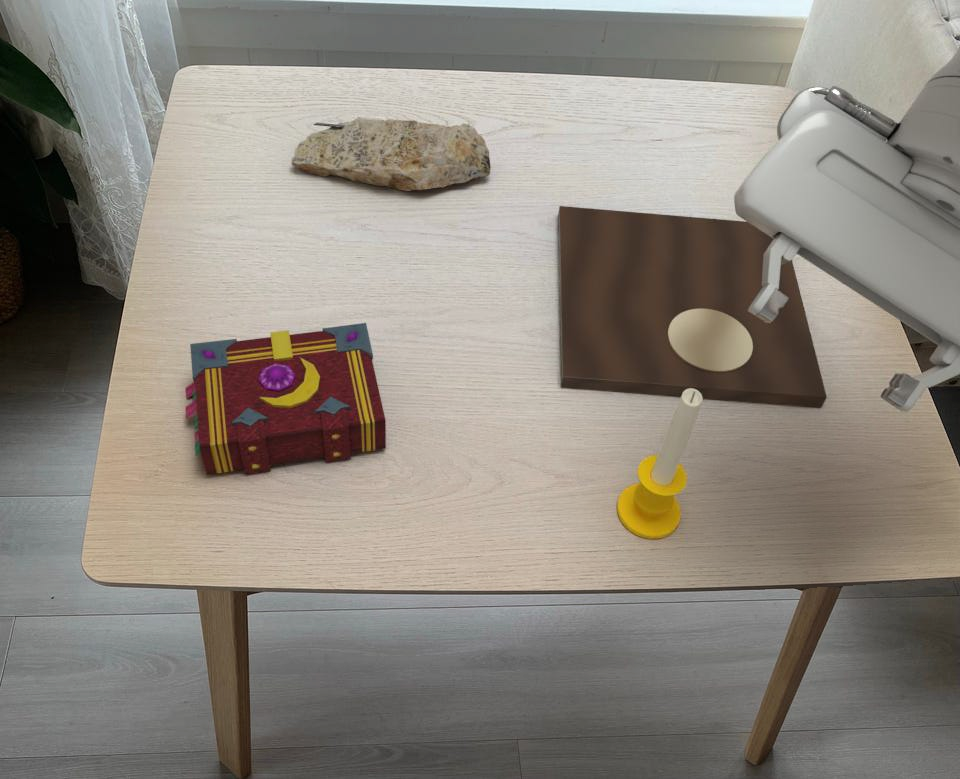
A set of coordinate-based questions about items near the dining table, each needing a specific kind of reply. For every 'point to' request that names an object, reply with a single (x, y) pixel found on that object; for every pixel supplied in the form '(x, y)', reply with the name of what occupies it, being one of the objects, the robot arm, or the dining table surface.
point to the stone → (395, 153)
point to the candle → (661, 478)
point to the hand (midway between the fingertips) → (825, 360)
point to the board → (678, 310)
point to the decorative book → (285, 399)
